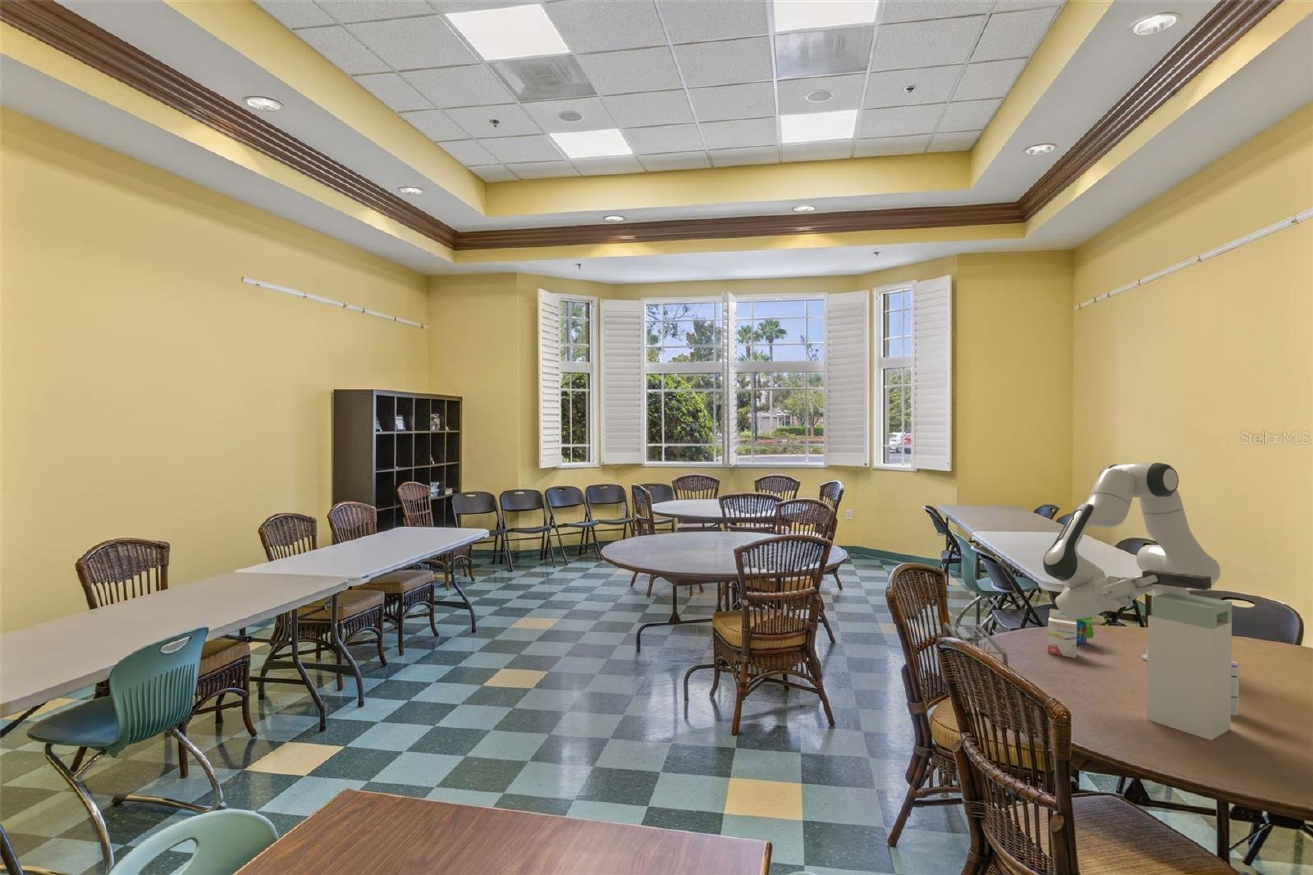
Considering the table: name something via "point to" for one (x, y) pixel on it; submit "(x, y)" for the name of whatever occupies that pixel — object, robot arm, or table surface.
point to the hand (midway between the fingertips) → (1162, 576)
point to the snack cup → (1083, 629)
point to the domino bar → (1180, 579)
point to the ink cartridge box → (1061, 634)
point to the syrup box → (1234, 688)
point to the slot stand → (1190, 663)
